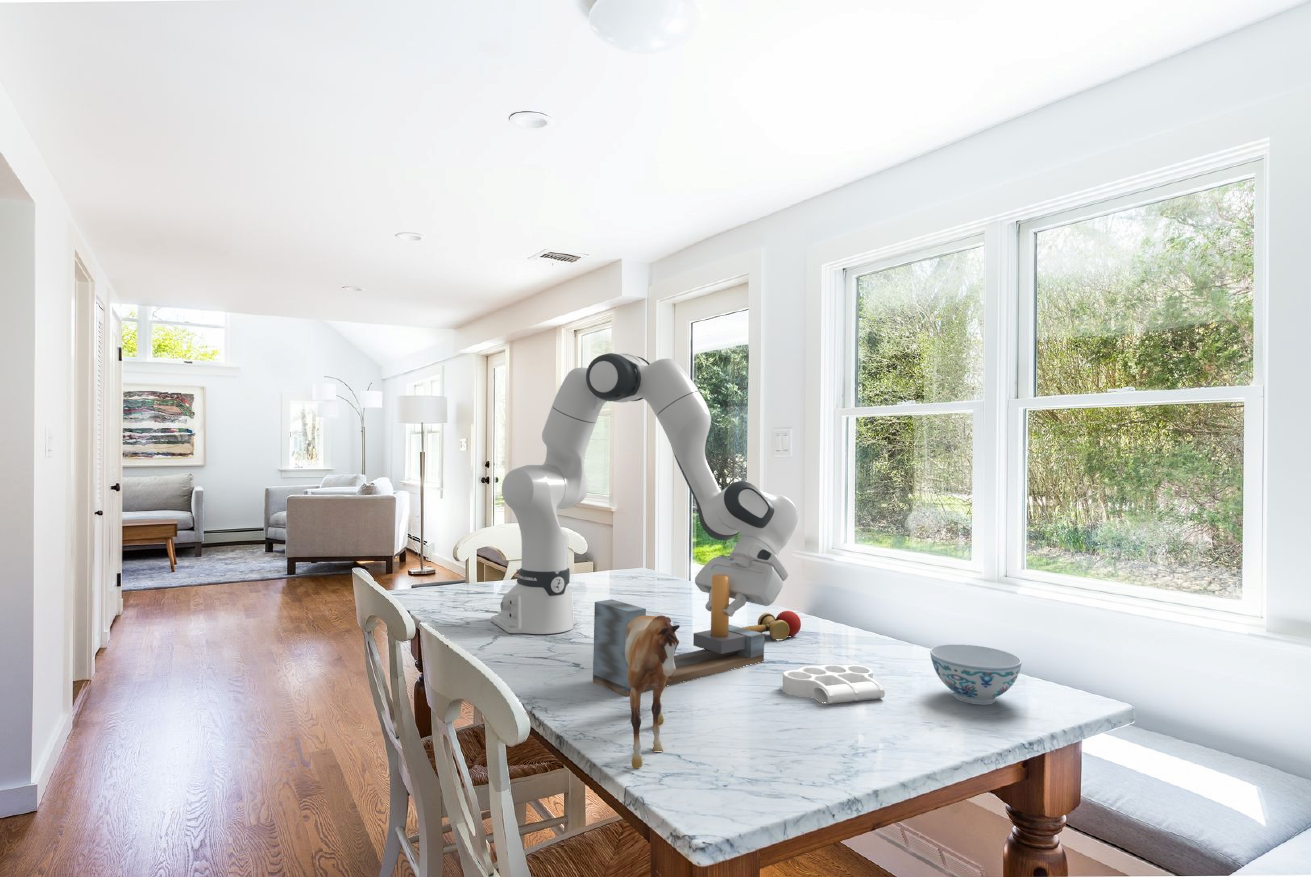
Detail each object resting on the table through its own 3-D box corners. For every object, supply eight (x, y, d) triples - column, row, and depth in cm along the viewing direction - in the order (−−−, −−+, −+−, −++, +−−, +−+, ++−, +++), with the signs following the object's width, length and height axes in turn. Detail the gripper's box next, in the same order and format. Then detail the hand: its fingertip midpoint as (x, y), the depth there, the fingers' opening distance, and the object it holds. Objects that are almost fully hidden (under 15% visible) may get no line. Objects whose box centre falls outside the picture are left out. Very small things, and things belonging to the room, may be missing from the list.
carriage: (693, 645, 153) (694, 574, 153) (717, 640, 157) (718, 571, 158) (721, 654, 147) (722, 580, 147) (745, 648, 151) (746, 576, 152)
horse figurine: (676, 783, 97) (680, 623, 97) (616, 781, 97) (620, 622, 97) (673, 702, 128) (675, 581, 128) (627, 701, 128) (630, 580, 128)
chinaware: (974, 682, 143) (975, 641, 143) (1041, 707, 129) (1041, 663, 129) (911, 689, 137) (912, 647, 137) (973, 717, 123) (974, 670, 123)
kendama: (744, 652, 166) (810, 634, 173) (739, 624, 166) (805, 607, 174) (727, 650, 173) (791, 633, 180) (722, 622, 173) (786, 606, 181)
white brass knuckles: (811, 711, 126) (769, 685, 140) (899, 701, 132) (851, 677, 146) (812, 691, 126) (769, 667, 140) (900, 682, 132) (851, 659, 146)
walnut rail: (590, 682, 137) (592, 602, 138) (728, 651, 161) (729, 582, 161) (627, 698, 129) (629, 612, 129) (767, 662, 153) (768, 590, 153)
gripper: (709, 544, 165) (675, 594, 158) (781, 556, 149) (747, 611, 143) (723, 563, 168) (690, 612, 161) (795, 576, 152) (762, 631, 146)
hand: (717, 612), depth 152 cm, fingers closed on carriage, 4 cm apart
